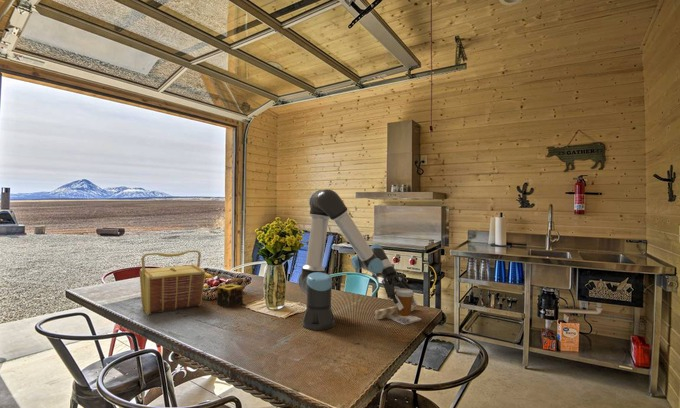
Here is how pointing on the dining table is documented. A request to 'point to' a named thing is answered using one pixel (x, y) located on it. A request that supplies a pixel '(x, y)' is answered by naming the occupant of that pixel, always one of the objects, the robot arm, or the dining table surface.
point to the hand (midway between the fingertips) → (408, 307)
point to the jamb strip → (387, 312)
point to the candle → (229, 295)
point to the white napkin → (404, 319)
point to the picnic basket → (171, 285)
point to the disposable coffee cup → (404, 300)
